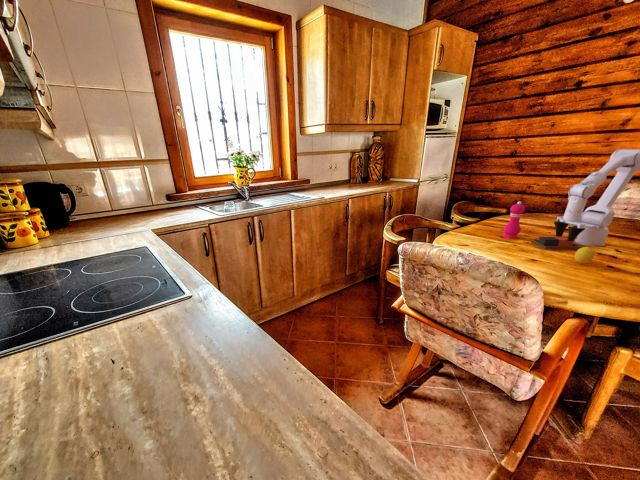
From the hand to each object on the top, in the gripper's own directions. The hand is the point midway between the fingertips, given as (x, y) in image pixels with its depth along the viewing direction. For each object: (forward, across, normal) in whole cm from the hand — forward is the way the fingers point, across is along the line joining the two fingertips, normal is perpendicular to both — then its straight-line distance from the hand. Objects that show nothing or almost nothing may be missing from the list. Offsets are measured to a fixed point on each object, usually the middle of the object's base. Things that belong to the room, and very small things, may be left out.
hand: (564, 238), depth 134 cm
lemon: (+4, +22, -7) cm, 23 cm away
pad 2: (+4, 0, 0) cm, 4 cm away
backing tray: (+4, 0, -3) cm, 5 cm away
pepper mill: (+4, -14, -16) cm, 21 cm away
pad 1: (+4, 0, -6) cm, 7 cm away
